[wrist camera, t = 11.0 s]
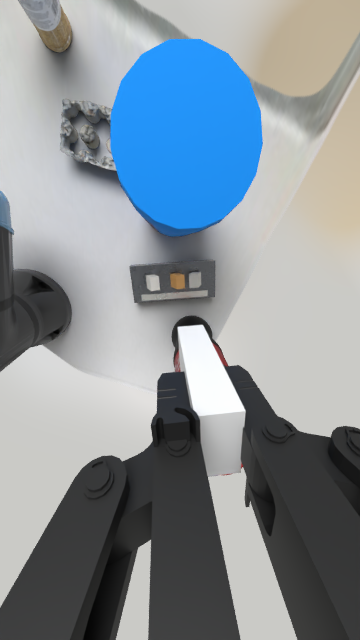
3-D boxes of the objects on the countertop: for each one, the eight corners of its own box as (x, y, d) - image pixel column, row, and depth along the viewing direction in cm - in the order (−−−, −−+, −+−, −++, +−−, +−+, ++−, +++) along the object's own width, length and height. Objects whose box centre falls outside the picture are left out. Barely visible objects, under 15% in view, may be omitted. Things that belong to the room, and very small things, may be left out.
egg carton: (139, 128, 34) (136, 114, 30) (131, 180, 36) (127, 173, 32) (71, 103, 32) (58, 84, 28) (67, 159, 34) (55, 149, 30)
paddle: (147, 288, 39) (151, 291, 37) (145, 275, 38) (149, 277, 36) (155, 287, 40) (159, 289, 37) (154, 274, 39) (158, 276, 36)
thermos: (172, 249, 40) (181, 261, 17) (131, 202, 37) (71, 138, 14) (215, 206, 38) (294, 153, 15) (175, 153, 35) (196, -25, 11)
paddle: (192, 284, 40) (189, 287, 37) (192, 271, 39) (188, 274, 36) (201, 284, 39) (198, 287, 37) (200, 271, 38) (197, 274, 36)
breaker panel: (136, 299, 43) (134, 303, 40) (131, 264, 41) (129, 266, 38) (212, 293, 44) (215, 297, 41) (212, 259, 41) (215, 261, 39)
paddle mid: (171, 286, 39) (176, 289, 37) (170, 273, 38) (176, 275, 36) (178, 285, 40) (184, 288, 37) (178, 272, 39) (184, 274, 36)
